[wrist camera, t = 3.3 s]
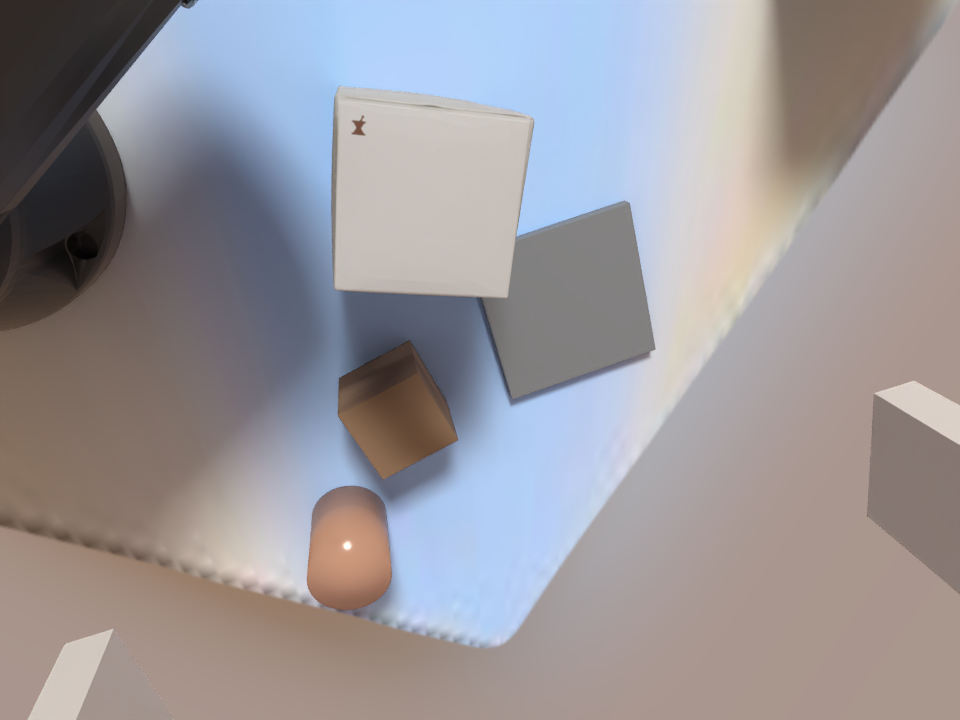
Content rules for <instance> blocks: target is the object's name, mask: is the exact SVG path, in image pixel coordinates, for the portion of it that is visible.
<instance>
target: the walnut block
mask: <svg viewBox="0 0 960 720" xmlns="http://www.w3.org/2000/svg"><path fill="white" fill-rule="evenodd" d="M338 417H339V418H340V420H341V421H342V422H343V424H344V425H345V427H346V428H347V429H348V431H349V432H350V434H351V435H352V436H353V438H354V439H355V441H356V442H357V444H358V445H359V446H360V448H361V449H362V451H363V452H364V453H365V455H366V456H367V458H368V459H369V461H370V462H371V463H372V465H373V466H374V468H375V469H376V470H377V472H378V473H379V475H380V476H381V478H382V479H383V480H384V479H385V478H387V477H389V476H391V475H393V474H395V473H397V472H399V471H401V470H402V469H404V468H406V467H408V466H410V465H412V464H414V463H416V462H418V461H419V460H421V459H423V458H425V457H427V456H429V455H431V454H433V453H435V452H436V451H438V450H440V449H442V448H444V447H446V446H448V445H450V444H452V443H453V442H455V441H457V440H458V437H457V434H456V431H455V427H454V424H453V421H452V418H451V414H450V411H449V408H448V404H447V401H446V400H445V398H444V396H443V395H442V393H441V391H440V390H439V388H438V386H437V385H436V383H435V381H434V380H433V378H432V376H431V375H430V373H429V371H428V370H427V368H426V366H425V365H424V363H423V361H422V360H421V358H420V356H419V355H418V353H417V351H416V350H415V348H414V346H413V345H412V343H411V341H410V340H409V341H407V342H405V343H404V344H402V345H400V346H398V347H396V348H394V349H392V350H391V351H389V352H387V353H385V354H383V355H381V356H379V357H378V358H376V359H374V360H372V361H370V362H368V363H366V364H365V365H363V366H361V367H359V368H357V369H355V370H353V371H351V372H350V373H348V374H346V375H344V376H342V377H340V378H339V395H338Z"/></svg>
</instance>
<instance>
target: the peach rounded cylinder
mask: <svg viewBox="0 0 960 720" xmlns="http://www.w3.org/2000/svg"><path fill="white" fill-rule="evenodd" d="M391 577H392V571H391V560H390V549H389V538H388V527H387V516H386V508H385V505H384V503H383V501H382V500H381V498H380V497H379V496H378V495H377V494H375V493H374V492H373V491H371V490H369V489H366V488H363V487H359V486H344V487H339V488H336V489H333V490H331V491H329V492H327V493H326V494H325V495H323V496H322V497H321V498H320V499H319V500H318V502H317V503H316V505H315V507H314V509H313V512H312V522H311V535H310V547H309V560H308V573H307V585H308V589H309V591H310V593H311V594H312V596H313V597H314V598H315V599H316V600H317V601H318V602H320V603H321V604H323V605H325V606H327V607H330V608H334V609H340V610H351V609H357V608H361V607H365V606H367V605H369V604H371V603H373V602H375V601H376V600H377V599H379V598H380V597H381V596H382V595H383V594H384V593H385V592H386V590H387V589H388V587H389V585H390V582H391Z"/></svg>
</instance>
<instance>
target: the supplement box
mask: <svg viewBox="0 0 960 720" xmlns="http://www.w3.org/2000/svg"><path fill="white" fill-rule="evenodd" d="M533 128H534V119H533V118H532V117H530V116H528V115H525V114H522V113H519V112H515V111H512V110H507V109H502V108H497V107H492V106H487V105H482V104H478V103H474V102H470V101H466V100H460V99H454V98H447V97H441V96H434V95H427V94H419V93H412V92H402V91H392V90H382V89H369V88H356V87H345V86H339V87H338V89H337V92H336V95H335V98H334V118H333V143H332V187H331V214H332V254H333V283H334V289H335V290H339V291H354V292H370V293H392V294H414V295H435V296H458V297H484V298H507V297H508V291H509V284H510V276H511V268H512V261H513V253H514V247H515V240H516V234H517V228H518V222H519V215H520V209H521V203H522V196H523V190H524V184H525V178H526V171H527V165H528V159H529V152H530V146H531V140H532V134H533Z"/></svg>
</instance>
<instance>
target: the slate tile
mask: <svg viewBox="0 0 960 720" xmlns="http://www.w3.org/2000/svg"><path fill="white" fill-rule="evenodd" d="M481 300H482V303H483V307H484V310H485V313H486V316H487V320H488V323H489V326H490V330H491V333H492V336H493V340H494V343H495V346H496V350H497V353H498V356H499V360H500V363H501V366H502V370H503V373H504V376H505V380H506V383H507V386H508V390H509V393H510V395H511V397H512V399H515V398H518V397H520V396H523V395H526V394H529V393H532V392H535V391H538V390H541V389H543V388H546V387H549V386H552V385H555V384H558V383H561V382H563V381H566V380H569V379H572V378H575V377H578V376H581V375H584V374H586V373H589V372H592V371H595V370H598V369H601V368H604V367H606V366H609V365H612V364H615V363H618V362H621V361H624V360H627V359H629V358H632V357H635V356H638V355H641V354H644V353H647V352H649V351H652V350H655V344H654V338H653V332H652V327H651V321H650V315H649V310H648V304H647V298H646V293H645V287H644V281H643V276H642V270H641V264H640V259H639V253H638V247H637V242H636V236H635V230H634V225H633V219H632V214H631V208H630V203H628V202H626V201H622V202H619V203H616V204H613V205H610V206H607V207H604V208H601V209H598V210H595V211H592V212H589V213H586V214H583V215H580V216H577V217H574V218H571V219H568V220H565V221H562V222H559V223H556V224H553V225H550V226H547V227H544V228H541V229H538V230H535V231H532V232H529V233H526V234H523V235H520V236H517V237H516V240H515V247H514V253H513V261H512V268H511V276H510V284H509V291H508V297H507V298H484V297H481Z"/></svg>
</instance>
